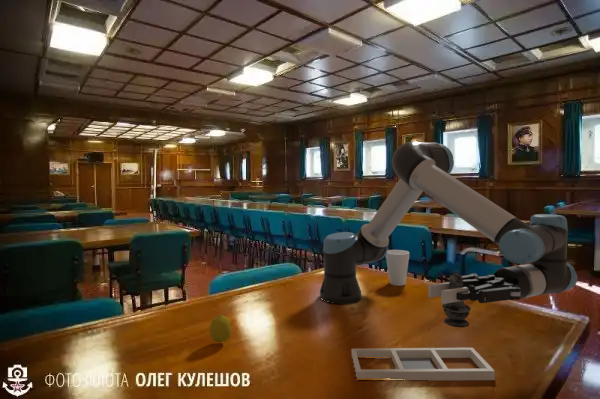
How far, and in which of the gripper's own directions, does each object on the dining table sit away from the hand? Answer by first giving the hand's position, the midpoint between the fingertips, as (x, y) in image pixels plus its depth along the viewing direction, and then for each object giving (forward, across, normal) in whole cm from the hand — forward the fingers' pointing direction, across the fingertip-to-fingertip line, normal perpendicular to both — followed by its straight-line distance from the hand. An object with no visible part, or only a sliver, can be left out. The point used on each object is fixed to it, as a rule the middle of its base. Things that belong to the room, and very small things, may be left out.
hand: (435, 294), depth 77 cm
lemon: (+44, +31, -18) cm, 57 cm away
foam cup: (-29, +60, -18) cm, 69 cm away
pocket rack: (+3, +3, -18) cm, 18 cm away
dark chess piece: (-5, 0, -7) cm, 9 cm away
